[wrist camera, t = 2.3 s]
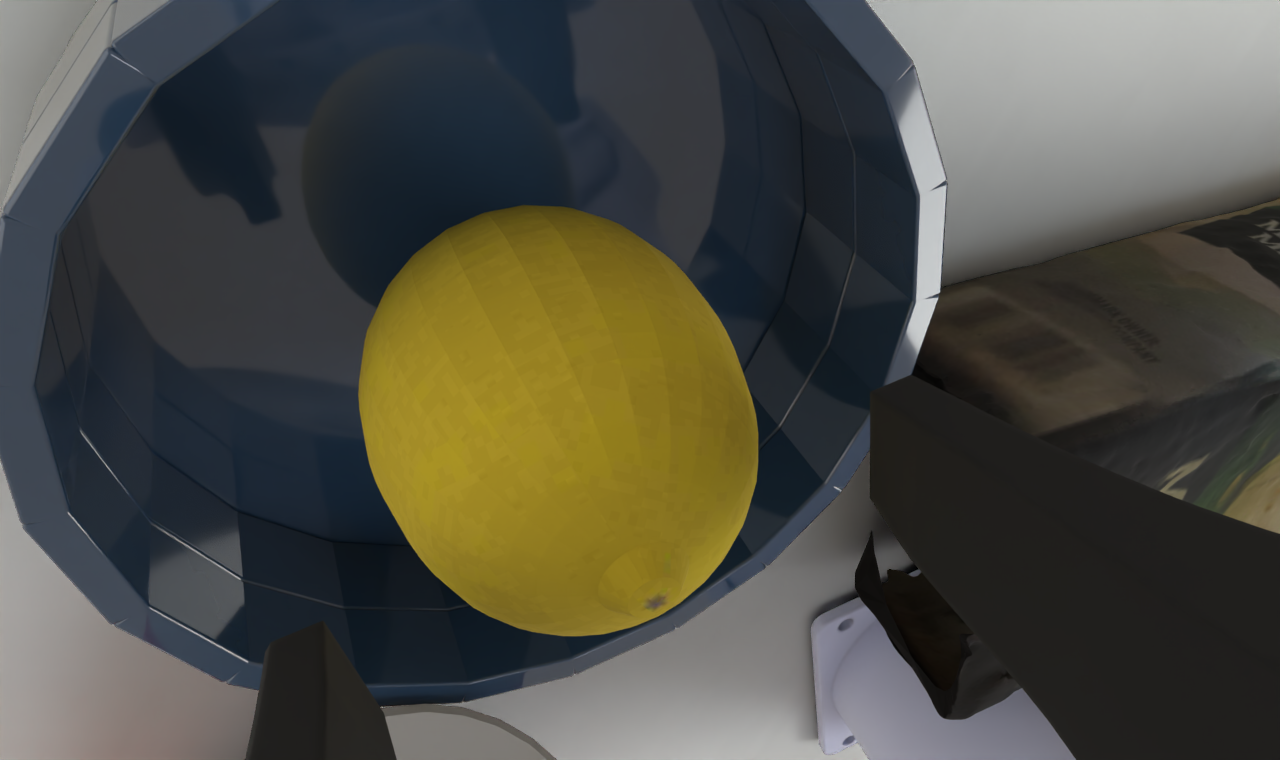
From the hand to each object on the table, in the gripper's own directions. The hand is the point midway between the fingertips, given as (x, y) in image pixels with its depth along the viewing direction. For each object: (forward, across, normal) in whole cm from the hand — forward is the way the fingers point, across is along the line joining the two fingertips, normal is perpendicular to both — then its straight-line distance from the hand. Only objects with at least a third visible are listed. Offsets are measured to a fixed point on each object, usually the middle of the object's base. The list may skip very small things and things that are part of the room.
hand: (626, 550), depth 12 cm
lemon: (+7, 0, 0) cm, 7 cm away
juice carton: (+8, -17, +10) cm, 21 cm away
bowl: (+7, 0, 0) cm, 7 cm away
